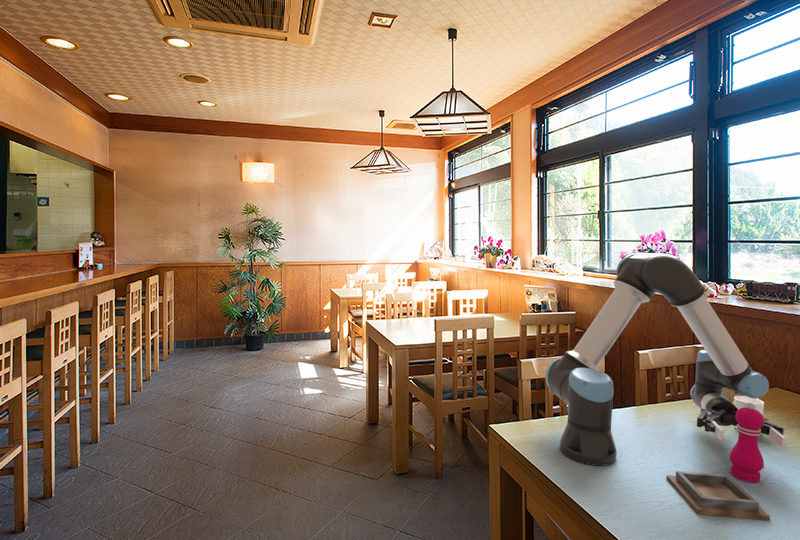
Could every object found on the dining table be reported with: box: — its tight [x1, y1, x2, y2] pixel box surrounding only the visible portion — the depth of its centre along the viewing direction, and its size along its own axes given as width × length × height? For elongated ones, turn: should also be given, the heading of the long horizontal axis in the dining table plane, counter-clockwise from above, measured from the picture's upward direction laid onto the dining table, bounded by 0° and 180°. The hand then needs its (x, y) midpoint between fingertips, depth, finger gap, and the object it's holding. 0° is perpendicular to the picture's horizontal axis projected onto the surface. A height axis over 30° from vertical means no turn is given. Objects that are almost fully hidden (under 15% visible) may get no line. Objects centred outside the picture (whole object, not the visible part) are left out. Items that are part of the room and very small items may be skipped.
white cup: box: [733, 395, 765, 430], centre depth 148 cm, size 8×8×10 cm
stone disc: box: [723, 387, 736, 403], centre depth 171 cm, size 10×4×10 cm, turn 39°
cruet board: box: [666, 470, 771, 521], centre depth 108 cm, size 15×15×3 cm
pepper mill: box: [728, 403, 765, 484], centre depth 117 cm, size 7×7×20 cm
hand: (752, 439), depth 116 cm, fingers open, 13 cm apart
